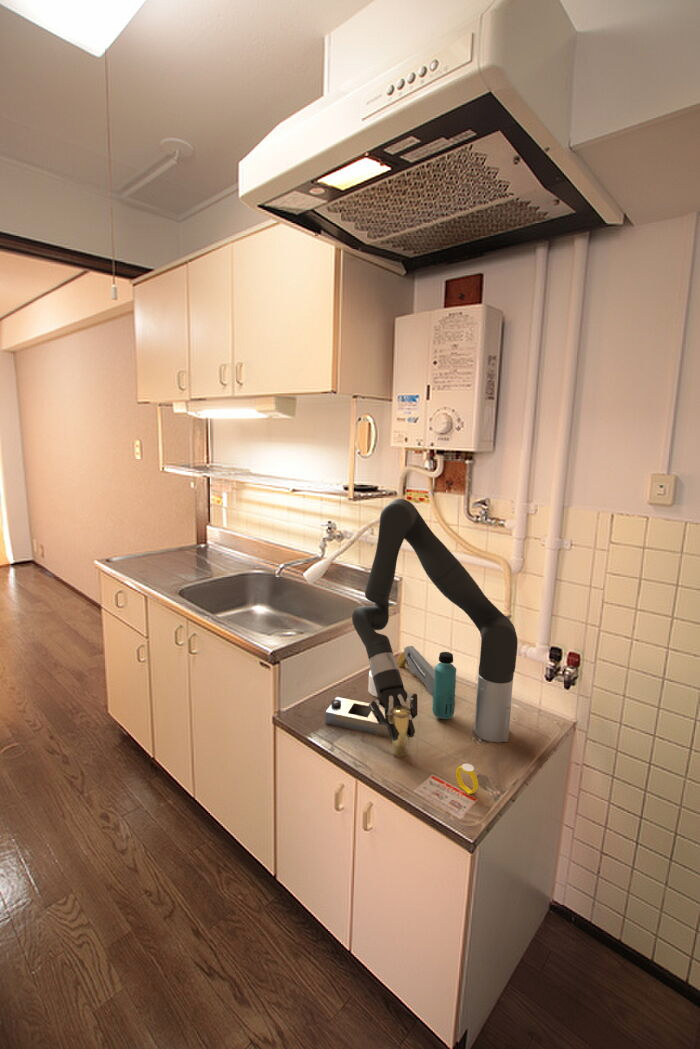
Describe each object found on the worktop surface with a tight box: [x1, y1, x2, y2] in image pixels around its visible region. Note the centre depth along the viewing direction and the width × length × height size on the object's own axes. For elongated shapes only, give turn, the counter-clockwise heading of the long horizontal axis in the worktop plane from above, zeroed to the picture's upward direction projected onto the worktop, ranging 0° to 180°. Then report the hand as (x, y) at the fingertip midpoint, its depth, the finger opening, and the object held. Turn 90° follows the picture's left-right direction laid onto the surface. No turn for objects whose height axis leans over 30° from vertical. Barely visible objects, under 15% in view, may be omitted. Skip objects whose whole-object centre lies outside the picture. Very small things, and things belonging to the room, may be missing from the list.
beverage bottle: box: [431, 651, 457, 720], centre depth 146 cm, size 6×7×20 cm
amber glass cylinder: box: [391, 705, 411, 758], centre depth 129 cm, size 5×5×12 cm
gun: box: [397, 645, 435, 697], centre depth 169 cm, size 3×25×15 cm, turn 25°
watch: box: [455, 763, 479, 795], centre depth 117 cm, size 6×3×6 cm, turn 31°
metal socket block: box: [324, 696, 391, 739], centre depth 143 cm, size 21×9×5 cm, turn 71°
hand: (403, 738), depth 128 cm, fingers closed on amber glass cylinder, 4 cm apart
